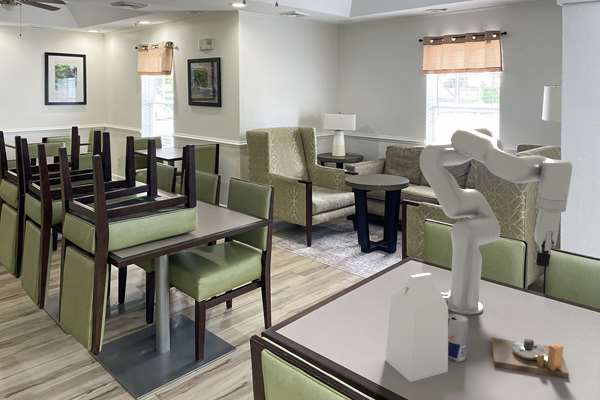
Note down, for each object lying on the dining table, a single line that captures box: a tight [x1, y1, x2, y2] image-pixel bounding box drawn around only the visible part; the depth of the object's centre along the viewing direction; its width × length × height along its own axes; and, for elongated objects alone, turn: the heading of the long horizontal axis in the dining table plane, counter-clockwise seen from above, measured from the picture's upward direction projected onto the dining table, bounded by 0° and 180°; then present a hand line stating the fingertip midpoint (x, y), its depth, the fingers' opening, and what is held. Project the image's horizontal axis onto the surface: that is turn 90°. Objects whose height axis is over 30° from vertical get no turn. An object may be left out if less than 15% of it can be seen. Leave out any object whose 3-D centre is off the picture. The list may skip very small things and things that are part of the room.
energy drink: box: [448, 313, 469, 363], centre depth 134 cm, size 5×5×12 cm
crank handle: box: [512, 340, 564, 370], centre depth 131 cm, size 13×8×6 cm, turn 26°
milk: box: [385, 272, 449, 383], centre depth 129 cm, size 12×12×26 cm
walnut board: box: [490, 337, 570, 379], centre depth 134 cm, size 18×14×6 cm
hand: (542, 265), depth 141 cm, fingers closed
